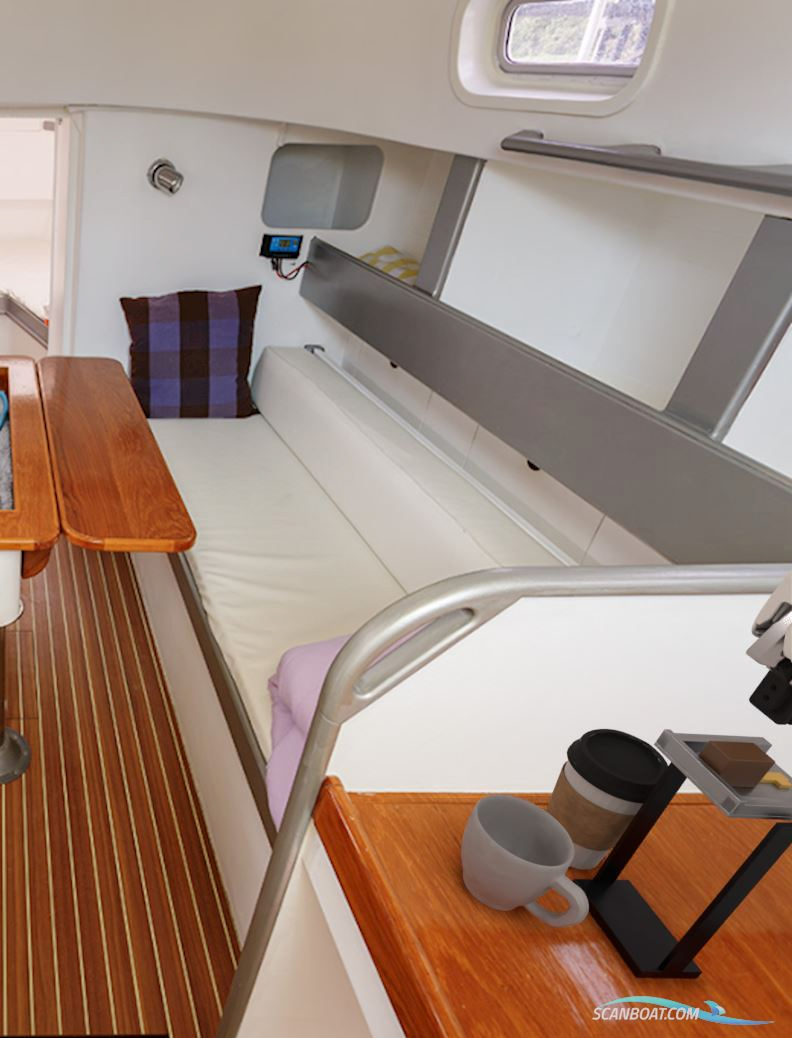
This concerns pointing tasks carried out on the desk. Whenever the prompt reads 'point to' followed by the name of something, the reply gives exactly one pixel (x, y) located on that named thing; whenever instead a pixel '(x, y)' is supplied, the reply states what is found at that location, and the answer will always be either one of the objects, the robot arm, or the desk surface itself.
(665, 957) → the stand
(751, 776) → the key
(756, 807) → the silver letter tray
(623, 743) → the coffee cup
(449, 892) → the desk surface
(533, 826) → the mug
